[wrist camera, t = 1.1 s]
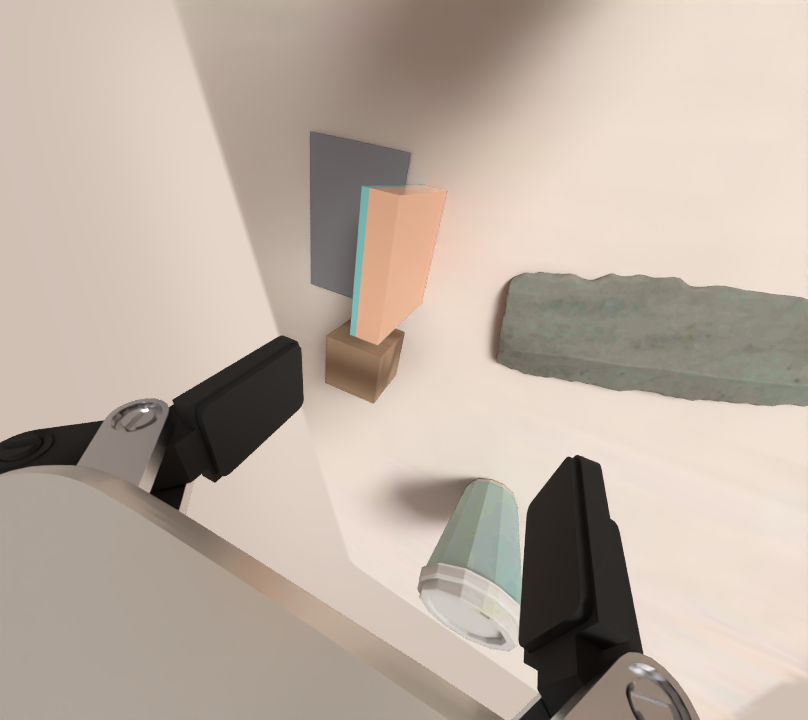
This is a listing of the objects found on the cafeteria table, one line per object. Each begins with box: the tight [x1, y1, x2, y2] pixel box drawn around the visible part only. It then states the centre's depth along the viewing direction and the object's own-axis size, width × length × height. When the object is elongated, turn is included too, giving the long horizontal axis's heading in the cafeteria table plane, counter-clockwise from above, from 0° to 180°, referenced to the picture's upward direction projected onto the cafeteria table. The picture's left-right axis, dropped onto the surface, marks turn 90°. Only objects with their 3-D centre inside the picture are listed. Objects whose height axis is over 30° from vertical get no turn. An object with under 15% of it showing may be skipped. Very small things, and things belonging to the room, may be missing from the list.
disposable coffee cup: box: [418, 479, 522, 651], centre depth 34 cm, size 11×11×15 cm
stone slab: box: [497, 272, 808, 406], centre depth 24 cm, size 22×3×10 cm
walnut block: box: [325, 319, 405, 404], centre depth 33 cm, size 6×6×6 cm
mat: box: [310, 131, 410, 298], centre depth 29 cm, size 14×10×1 cm
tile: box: [350, 184, 447, 345], centre depth 24 cm, size 10×2×10 cm, turn 169°
